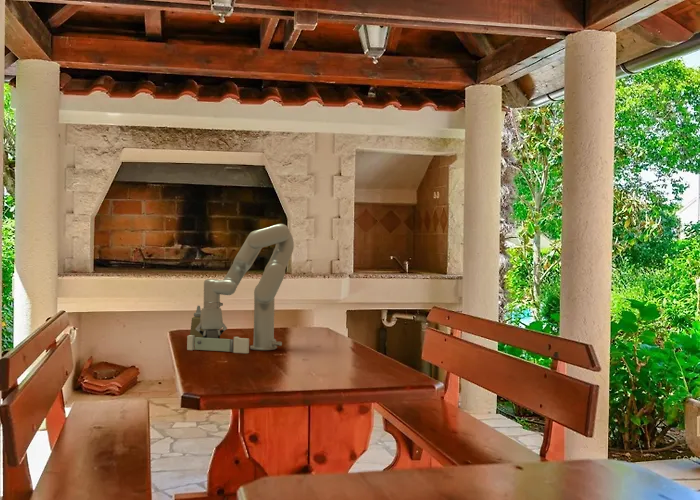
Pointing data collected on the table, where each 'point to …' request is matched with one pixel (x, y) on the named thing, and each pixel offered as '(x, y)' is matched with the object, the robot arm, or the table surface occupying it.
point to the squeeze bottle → (196, 324)
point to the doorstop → (212, 334)
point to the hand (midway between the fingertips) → (211, 343)
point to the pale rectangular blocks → (239, 347)
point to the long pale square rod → (214, 344)
